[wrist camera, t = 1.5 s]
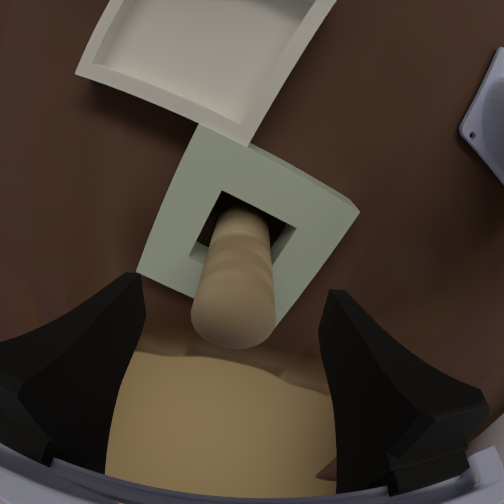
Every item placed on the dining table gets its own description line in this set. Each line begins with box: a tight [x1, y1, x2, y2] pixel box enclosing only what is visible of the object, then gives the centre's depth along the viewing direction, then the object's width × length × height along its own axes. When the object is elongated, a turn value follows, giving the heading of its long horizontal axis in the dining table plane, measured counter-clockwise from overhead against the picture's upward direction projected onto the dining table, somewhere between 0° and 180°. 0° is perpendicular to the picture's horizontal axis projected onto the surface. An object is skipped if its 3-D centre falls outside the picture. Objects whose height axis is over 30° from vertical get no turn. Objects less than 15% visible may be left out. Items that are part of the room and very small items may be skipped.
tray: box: [75, 0, 337, 147], centre depth 11 cm, size 10×9×2 cm
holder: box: [136, 124, 360, 327], centre depth 17 cm, size 9×9×2 cm
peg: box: [191, 203, 276, 349], centre depth 14 cm, size 3×3×8 cm
